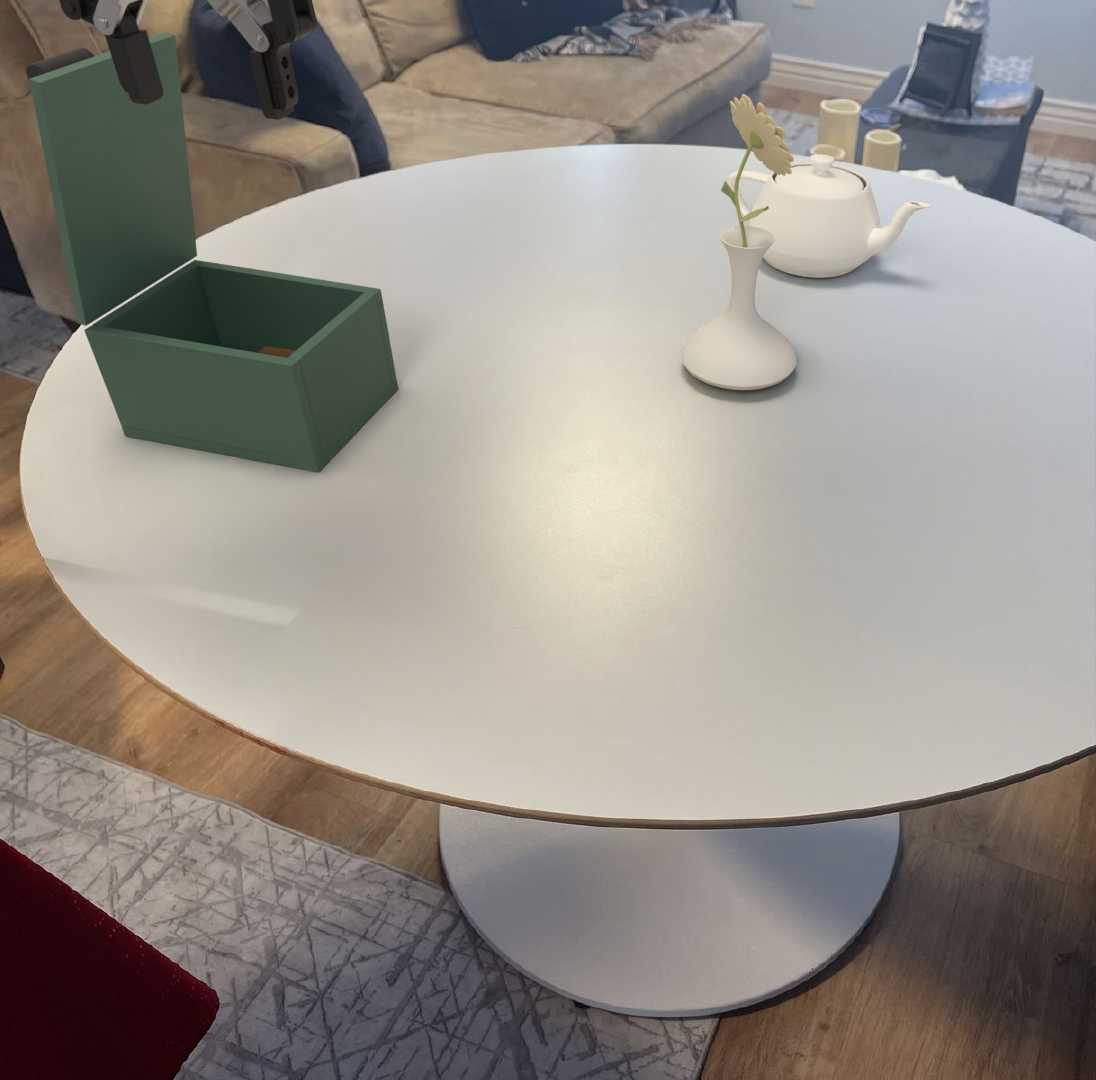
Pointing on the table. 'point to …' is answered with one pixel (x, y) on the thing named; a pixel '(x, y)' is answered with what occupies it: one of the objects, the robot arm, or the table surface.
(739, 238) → the flower in vase
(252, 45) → the robot arm
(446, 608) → the table surface
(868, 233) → the teapot
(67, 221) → the lid
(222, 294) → the box
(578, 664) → the table surface
